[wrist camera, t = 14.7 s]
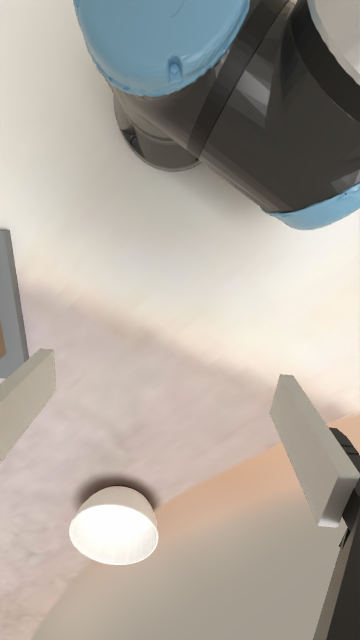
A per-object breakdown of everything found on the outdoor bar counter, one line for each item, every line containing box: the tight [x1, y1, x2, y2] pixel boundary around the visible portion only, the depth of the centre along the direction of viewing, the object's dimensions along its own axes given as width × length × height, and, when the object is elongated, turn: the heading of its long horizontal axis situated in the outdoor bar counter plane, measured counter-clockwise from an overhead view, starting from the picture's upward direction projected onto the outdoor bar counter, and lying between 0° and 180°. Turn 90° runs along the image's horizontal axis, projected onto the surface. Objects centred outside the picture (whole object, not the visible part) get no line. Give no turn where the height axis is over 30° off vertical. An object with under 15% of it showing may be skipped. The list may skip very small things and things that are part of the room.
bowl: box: [69, 486, 158, 565], centre depth 60 cm, size 18×18×7 cm
